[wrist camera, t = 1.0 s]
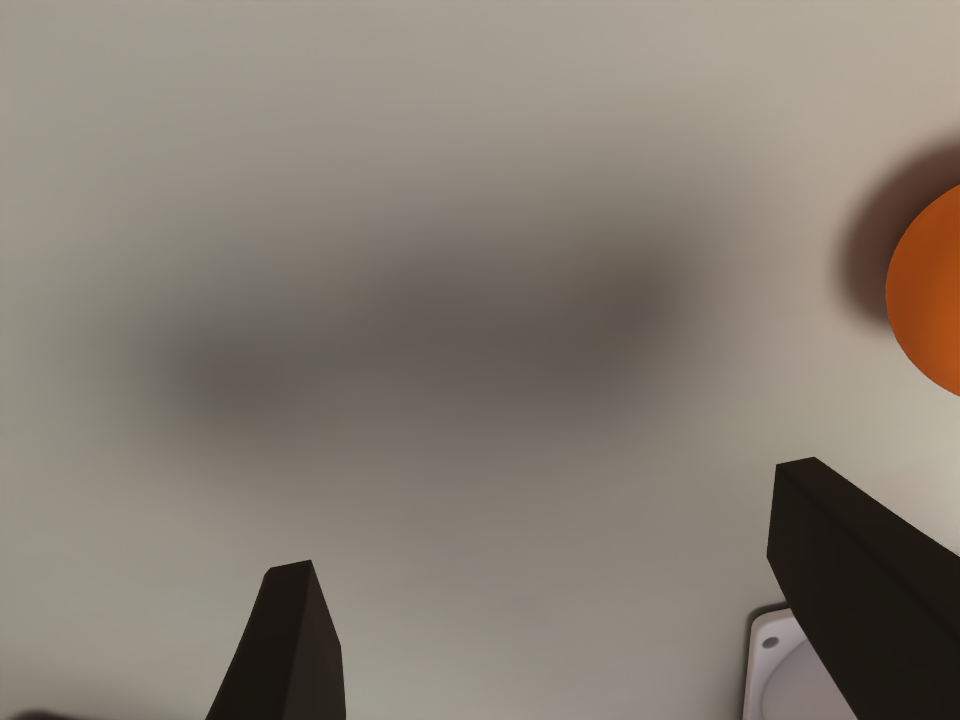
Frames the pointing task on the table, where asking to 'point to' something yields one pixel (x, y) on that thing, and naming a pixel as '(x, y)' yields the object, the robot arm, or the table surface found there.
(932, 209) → the ball
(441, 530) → the table surface
